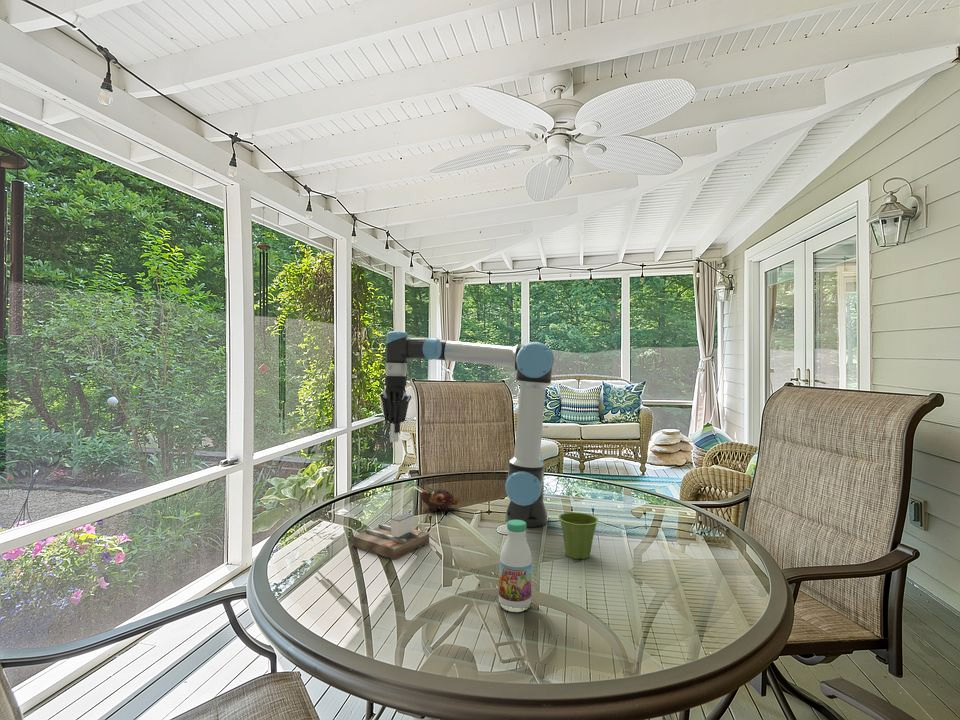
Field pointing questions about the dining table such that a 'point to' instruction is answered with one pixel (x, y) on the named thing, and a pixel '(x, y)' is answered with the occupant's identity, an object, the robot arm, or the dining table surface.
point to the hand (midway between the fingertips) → (394, 441)
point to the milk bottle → (515, 567)
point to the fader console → (389, 541)
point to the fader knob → (402, 525)
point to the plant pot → (578, 533)
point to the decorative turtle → (438, 499)
